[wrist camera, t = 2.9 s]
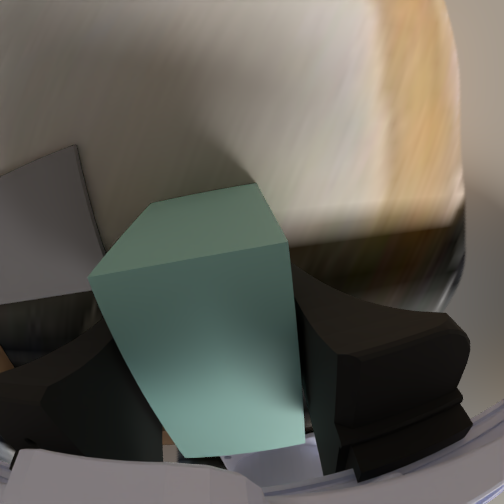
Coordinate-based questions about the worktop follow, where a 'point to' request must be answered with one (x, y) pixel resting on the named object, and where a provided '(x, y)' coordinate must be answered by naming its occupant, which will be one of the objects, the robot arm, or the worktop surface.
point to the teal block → (208, 321)
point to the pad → (46, 229)
